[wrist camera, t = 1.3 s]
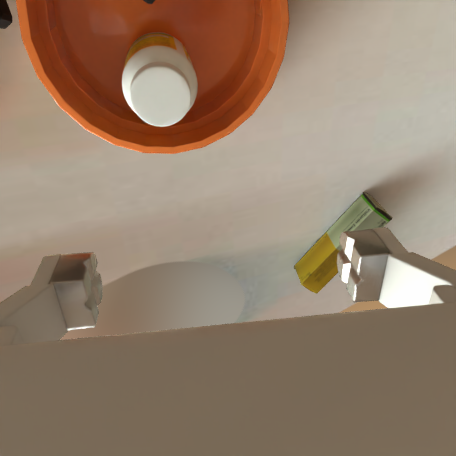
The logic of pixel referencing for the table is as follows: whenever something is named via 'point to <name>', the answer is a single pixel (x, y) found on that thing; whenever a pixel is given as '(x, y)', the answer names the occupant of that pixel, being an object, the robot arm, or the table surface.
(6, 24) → the knife
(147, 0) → the smartwatch
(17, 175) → the table surface
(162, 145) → the bowl
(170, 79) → the supplement bottle
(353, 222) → the medication box
